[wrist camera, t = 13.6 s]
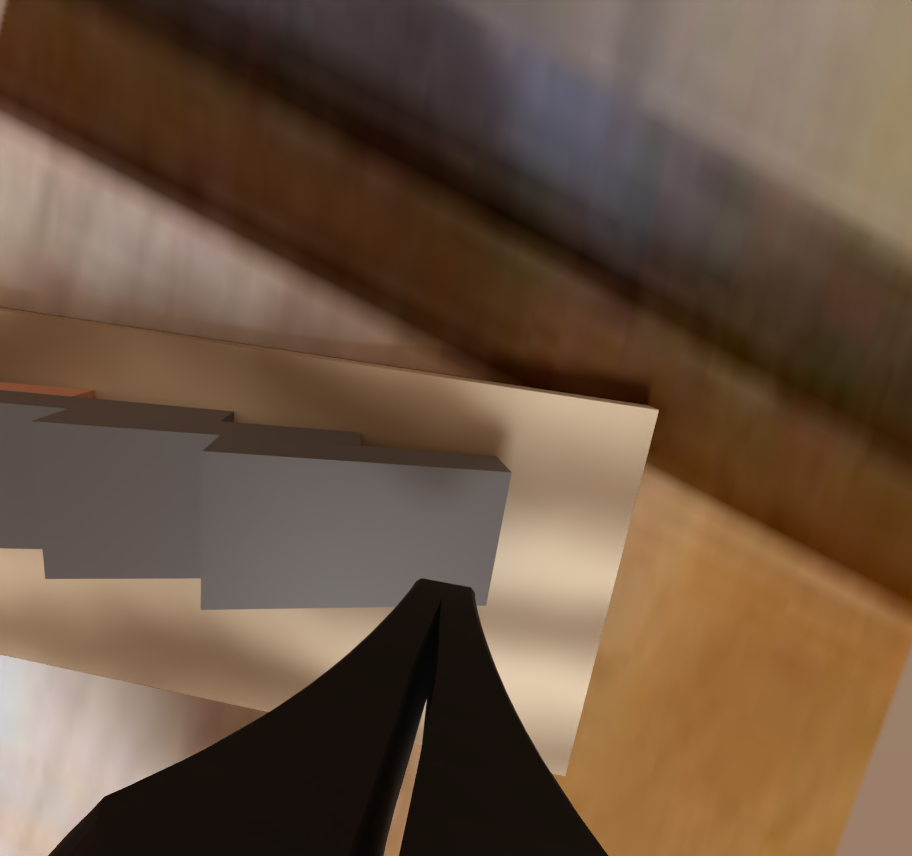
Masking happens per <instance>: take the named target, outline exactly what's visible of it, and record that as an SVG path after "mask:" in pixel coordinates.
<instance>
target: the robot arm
mask: <svg viewBox="0 0 912 856" xmlns="http://www.w3.org/2000/svg"><path fill="white" fill-rule="evenodd" d="M426 699H427V701H426ZM425 703H426V710H425V720H424V729H423V739H422V749H421V754H420V759H419V764H418V769H417V774H416V778H415V783H414V788H413V793H412V798H411V802H410V807H409V812H408V817H407V821H406V826H405V831H404V835H403V840H402V845H401V849H400V854H399V856H608V855H607V853H606V852H605V851H604V849H603V848H602V847H601V845H600V844H599V842H598V841H597V840H596V838H595V837H594V835H593V834H592V833H591V831H590V830H589V829H588V827H587V826H586V824H585V823H584V822H583V820H582V819H581V818H580V816H579V815H578V813H577V812H576V810H575V809H574V807H573V806H572V804H571V802H570V801H569V799H568V798H567V796H566V795H565V793H564V792H563V790H562V789H561V787H560V786H559V784H558V783H557V781H556V780H555V778H554V776H553V775H552V773H551V772H550V770H549V769H548V767H547V766H546V764H545V763H544V761H543V759H542V758H541V756H540V754H539V752H538V751H537V749H536V747H535V745H534V744H533V742H532V740H531V738H530V737H529V735H528V733H527V731H526V729H525V728H524V726H523V724H522V722H521V720H520V718H519V716H518V714H517V712H516V710H515V708H514V706H513V704H512V702H511V700H510V698H509V696H508V694H507V692H506V689H505V687H504V685H503V682H502V680H501V678H500V675H499V673H498V671H497V668H496V666H495V663H494V661H493V658H492V655H491V652H490V650H489V647H488V644H487V641H486V638H485V635H484V632H483V629H482V625H481V622H480V618H479V614H478V610H477V605H476V599H475V592H474V591H473V589H472V588H471V587H467V586H461V585H456V584H450V583H445V582H440V581H434V580H429V579H424V578H421V579H419V580H417V581H416V582H415V584H414V585H413V586H412V588H411V589H410V590H409V592H408V593H407V594H406V595H405V597H404V598H403V599H402V600H401V601H400V603H399V604H398V605H397V606H396V607H395V608H394V609H393V610H392V612H391V613H390V614H389V615H388V616H387V617H386V618H385V619H384V620H383V621H382V622H381V623H380V624H379V625H378V626H377V627H376V628H375V629H374V630H373V631H372V632H371V633H370V634H369V635H368V636H367V637H366V638H365V639H364V640H362V641H361V642H360V643H359V644H358V645H357V646H356V647H355V648H354V649H353V650H352V651H350V652H349V653H348V654H347V655H346V656H345V657H344V658H342V659H341V660H340V661H339V662H338V663H336V664H335V665H334V666H333V667H332V668H330V669H329V670H328V671H327V672H325V673H324V674H323V675H321V676H320V677H319V678H317V679H316V680H315V681H313V682H312V683H311V684H309V685H308V686H307V687H305V688H304V689H302V690H301V691H299V692H298V693H297V694H295V695H294V696H292V697H291V698H289V699H288V700H286V701H285V702H283V703H282V704H281V705H279V706H278V707H276V708H274V709H273V710H271V711H270V712H268V713H267V714H265V715H264V716H262V717H260V718H259V719H257V720H255V721H254V722H252V723H250V724H248V725H247V726H245V727H243V728H241V729H240V730H238V731H236V732H234V733H233V734H231V735H229V736H227V737H226V738H224V739H222V740H221V741H219V742H217V743H215V744H214V745H212V746H210V747H208V748H206V749H204V750H202V751H201V752H199V753H197V754H195V755H193V756H191V757H189V758H187V759H185V760H183V761H181V762H179V763H176V764H174V765H172V766H170V767H168V768H166V769H164V770H162V771H159V772H157V773H155V774H153V775H151V776H149V777H147V778H145V779H142V780H140V781H138V782H136V783H134V784H132V785H130V786H128V787H125V788H123V789H121V790H119V791H116V792H114V793H112V794H110V795H107V796H105V797H104V798H103V799H102V800H101V801H100V802H99V803H98V804H97V805H96V806H95V807H94V808H93V810H92V811H91V812H90V813H89V814H88V815H87V816H86V817H85V818H84V819H83V820H81V821H80V822H79V823H78V824H77V825H76V826H75V827H74V828H73V829H72V830H71V831H70V832H69V833H68V834H67V836H66V837H65V838H64V839H63V840H62V841H61V842H60V843H59V844H58V845H57V847H56V848H55V849H54V850H53V851H52V852H51V853H50V854H49V855H48V856H383V855H384V850H385V846H386V841H387V837H388V833H389V829H390V825H391V821H392V817H393V813H394V809H395V806H396V802H397V799H398V795H399V792H400V789H401V785H402V782H403V778H404V775H405V771H406V768H407V765H408V761H409V758H410V754H411V751H412V748H413V744H414V741H415V737H416V734H417V731H418V727H419V724H420V720H421V717H422V713H423V710H424V706H425Z"/></svg>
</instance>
